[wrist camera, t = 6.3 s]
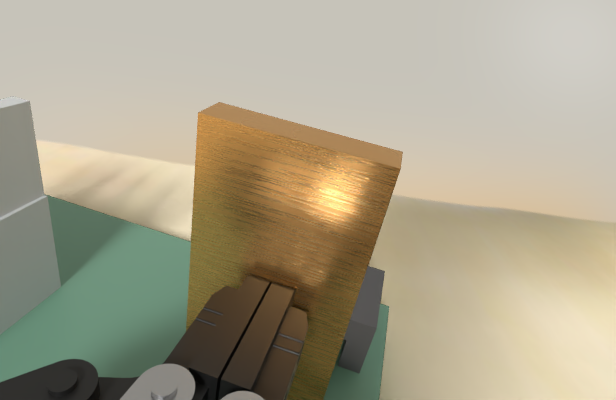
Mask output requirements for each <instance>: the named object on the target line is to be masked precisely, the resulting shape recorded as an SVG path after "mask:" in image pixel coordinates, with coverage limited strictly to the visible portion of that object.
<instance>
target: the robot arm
mask: <svg viewBox="0 0 616 400" xmlns="http://www.w3.org/2000/svg"><path fill="white" fill-rule="evenodd" d="M295 292H296V290H295V289H292V288H289V287H286V286H283V285H280V284H277V283H274V282H273V283H272V282H271V281H268V280H264V279H261V278H258V277H255V276H252V275H248V276H247V277H246V278H245V280H244V282H243V283H242V285H241V286H240V288H239V289H236V288H233V287H230V286H225V287H223V288H222V289H220V290H219V291H217V292H215V293H214V294H212V296H211V297H210V299H209V300H208V301H207V303H206V304H205V306H204V308H203V310H201V311H200V313H199V314H198V316H197V317H196V319H195V320H194V321H193V323H192V324H191V325H190V327H189V328H188V330H187V331H186V332H185V334H184V335H183V337H182V338H181V339H180V341H179V342H178V344H177V345H176V346H175V348H174V349H173V351H172V352H171V353H170V355H169V356H168V358H167V359H166V360H165V361H164V363H163V364H161V365H157V366H154V367H152V368H150V369H148V370H147V371H145V372H144V373H143V374H142V375H141V376H138V377H133V378H114V377H98V372H97V370H96V368H95V367H94V366H93V365H92V364H91V363H90V362H88V361H85V360H81V359H67V360H62V361H58V362H55V363H53V364H50V365H47V366H44V367H41V368H39V369H36V370H33V371H30V372H27V373H25V374H22V375H19V376H16V377H13V378H11V379H8V380H5V381H2V382H0V400H286V399H287V396H288V393H289V390H290V387H291V385H292V382H293V379H294V376H295V373H296V370H297V367H298V364H299V361H300V357H301V353H302V350H303V346H304V342H305V338H306V335H307V331H308V327H309V326H308V320H307V313H306V312H305V311H302V310H299V309H296V308H293V307H292V305H293V301H294V297H295Z"/></svg>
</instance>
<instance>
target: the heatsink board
mask: <svg viewBox="0 0 616 400" xmlns="http://www.w3.org/2000/svg"><path fill="white" fill-rule="evenodd" d="M190 250H191V242H190V241H187V240H183V239H180V238H177V237H174V236H171V235H168V234H165V233H162V232H159V231H156V230H153V229H150V228H147V227H144V226H140V225H137V224H134V223H131V222H128V221H125V220H122V219H119V218H116V217H113V216H110V215H107V214H104V213H101V212H97V211H94V210H91V209H88V208H85V207H82V206H79V205H76V204H73V203H70V202H67V201H64V200H61V199H58V198H54V197H51V196H48V195H45V194H44V190H43V184H42V177H41V171H40V164H39V158H38V151H37V145H36V139H35V132H34V126H33V120H32V113H31V106H30V101H28V100H25V99H21V98H18V97H14V96H12V97H8V98H4V99H0V382H2V381H5V380H8V379H11V378H13V377H16V376H19V375H22V374H25V373H27V372H30V371H33V370H36V369H39V368H41V367H44V366H47V365H50V364H53V363H55V362H58V361H62V360H67V359H81V360H85V361H88V362H90V363H91V364H92V365H93V366H94V367H95V368H96V370H97V372H98V377H114V378H133V377H138V376H141V375H142V374H143V373H144V372H145V371H147V370H148V369H150V368H152V367H154V366H157V365H161V364H163V363H164V361H165V360H166V359H167V358H168V356H169V355H170V353H171V352H172V351H173V349H174V348H175V346H176V345H177V344H178V342H179V341H180V339H181V338H182V337H183V335H184V334H185V332H186V322H187V304H188V286H189V268H190ZM384 273H385V271H382V270H379V269H376V268H373V267H369V266H368V267H367V270H366V273H365V276H364V279H363V282H362V285H361V288H360V291H359V294H358V297H357V300H356V303H355V306H354V309H353V312H352V315H351V318H350V321H349V324H348V327H347V330H346V333H345V336H344V339H343V342H342V345H341V348H340V351H339V354H338V357H337V360H336V363H335V366H334V369H333V372H332V375H331V378H330V381H329V384H328V387H327V390H326V393H325V396H324V399H323V400H379V395H380V386H381V377H382V367H383V358H384V349H385V340H386V331H387V322H388V312H389V306H386V305H383V304H380V302H381V294H382V287H383V280H384Z"/></svg>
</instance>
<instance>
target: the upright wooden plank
mask: <svg viewBox="0 0 616 400" xmlns="http://www.w3.org/2000/svg"><path fill="white" fill-rule="evenodd" d="M402 154H403V152H401V151H397V150H393V149H390V148H386V147H382V146H378V145H375V144H371V143H368V142H364V141H360V140H357V139H353V138H349V137H346V136H342V135H338V134H334V133H331V132H327V131H324V130H320V129H316V128H312V127H309V126H305V125H301V124H298V123H294V122H290V121H287V120H283V119H279V118H275V117H272V116H268V115H265V114H261V113H257V112H254V111H250V110H246V109H242V108H239V107H235V106H231V105H227V104H224V103H220V102H219V103H217V104H215V105H213V106H211V107H209V108H207V109H205V110H203V111H201V112H199V113H198V125H197V143H196V161H195V179H194V197H193V215H192V232H191V250H190V268H189V286H188V304H187V322H186V331H187V330H188V328H189V327H190V325H191V324H192V323H193V321H194V320H195V319H196V317H197V316H198V314H199V313H200V311H201V310H203V308H204V306H205V304H206V303H207V301H208V300H209V299H210V297H211V296H212V294H214V293H215V292H217V291H219V290H220V289H222V288H223V287H225V286H230V287H233V288H236V289H239V288H240V286H241V285H242V283H243V282H244V280H245V278H246V277H247V276H248V275H252V276H255V277H258V278H261V279H264V280H268V281H271V282H272V283H273V282H274V283H277V284H280V285H283V286H286V287H289V288H292V289H295V290H296V292H295V297H294V301H293V305H292V307H293V308H296V309H299V310H302V311H305V312H306V313H307V320H308V326H309V327H308V331H307V335H306V338H305V342H304V346H303V350H302V353H301V357H300V361H299V364H298V367H297V370H296V373H295V376H294V379H293V382H292V385H291V387H290V390H289V393H288V396H287V399H286V400H323V399H324V396H325V393H326V390H327V387H328V384H329V381H330V378H331V375H332V372H333V369H334V366H335V363H336V360H337V357H338V354H339V351H340V348H341V345H342V342H343V339H344V336H345V333H346V330H347V327H348V324H349V321H350V318H351V315H352V312H353V309H354V306H355V303H356V300H357V297H358V294H359V291H360V288H361V285H362V282H363V279H364V276H365V273H366V270H367V267H368V264H369V261H370V258H371V255H372V252H373V249H374V246H375V243H376V240H377V237H378V235H379V232H380V229H381V226H382V223H383V220H384V217H385V214H386V211H387V208H388V205H389V202H390V199H391V196H392V193H393V190H394V187H395V184H396V181H397V178H398V175H399V172H400V169H401V161H402Z"/></svg>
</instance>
